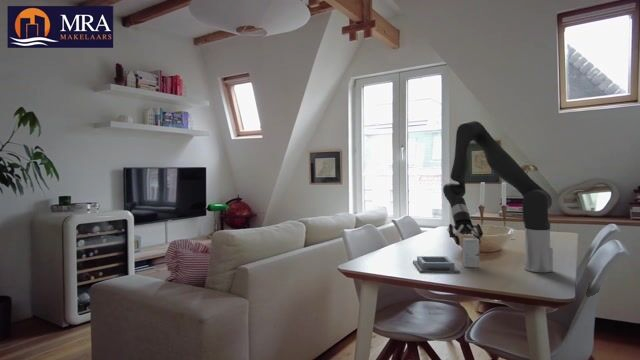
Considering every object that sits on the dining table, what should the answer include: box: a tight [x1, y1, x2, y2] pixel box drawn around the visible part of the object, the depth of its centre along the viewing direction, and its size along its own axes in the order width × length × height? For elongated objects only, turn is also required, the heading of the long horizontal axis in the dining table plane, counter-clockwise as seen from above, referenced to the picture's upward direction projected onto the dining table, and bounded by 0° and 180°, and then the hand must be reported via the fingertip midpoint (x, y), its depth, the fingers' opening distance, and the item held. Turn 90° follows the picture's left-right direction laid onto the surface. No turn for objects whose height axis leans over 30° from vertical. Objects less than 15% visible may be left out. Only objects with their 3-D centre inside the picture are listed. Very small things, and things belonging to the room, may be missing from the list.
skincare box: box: [462, 237, 480, 268], centre depth 164 cm, size 6×4×12 cm
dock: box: [412, 255, 461, 274], centre depth 162 cm, size 16×18×4 cm
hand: (468, 244), depth 166 cm, fingers open, 8 cm apart
